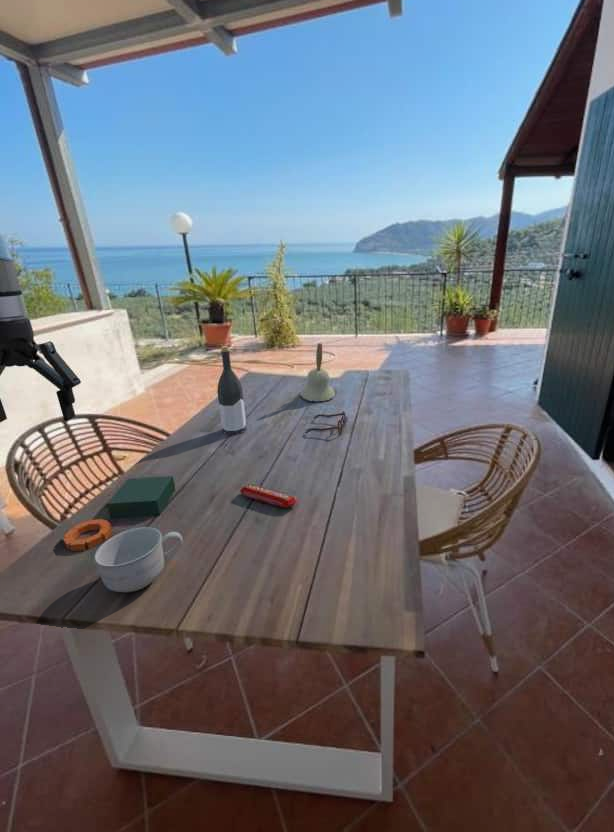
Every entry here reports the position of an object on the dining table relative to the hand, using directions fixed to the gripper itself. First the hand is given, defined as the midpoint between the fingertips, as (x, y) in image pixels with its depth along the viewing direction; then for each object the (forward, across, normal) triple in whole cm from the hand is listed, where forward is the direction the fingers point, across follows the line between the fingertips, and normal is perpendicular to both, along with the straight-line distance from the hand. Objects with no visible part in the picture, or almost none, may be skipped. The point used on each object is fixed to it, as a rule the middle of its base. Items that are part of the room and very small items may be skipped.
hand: (35, 420), depth 82 cm
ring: (+25, -9, +8) cm, 28 cm away
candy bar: (+25, -46, -1) cm, 53 cm away
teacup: (+25, -26, +21) cm, 42 cm away
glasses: (+25, -62, -44) cm, 80 cm away
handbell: (+25, -60, -78) cm, 102 cm away
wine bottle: (+25, -30, -46) cm, 60 cm away
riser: (+25, -16, -4) cm, 30 cm away
